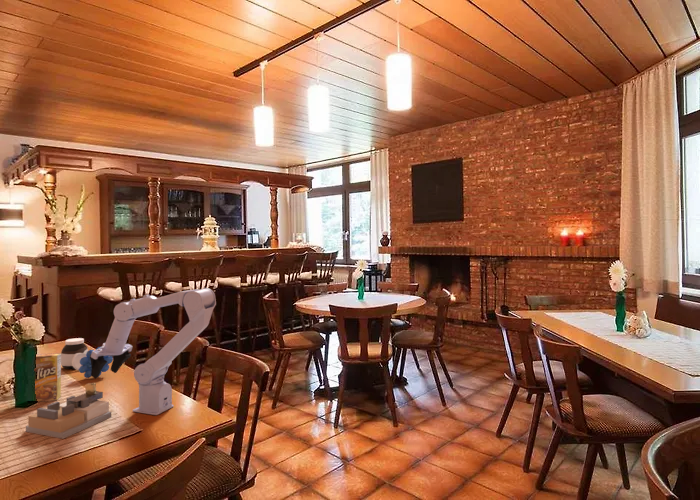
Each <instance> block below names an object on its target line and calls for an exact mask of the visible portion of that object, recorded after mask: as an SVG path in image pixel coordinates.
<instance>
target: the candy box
mask: <svg viewBox="0 0 700 500" xmlns="http://www.w3.org/2000/svg"><path fill="white" fill-rule="evenodd" d="M34 371H35V372H37V379H35V394H36V399H37V401H38V402H51V401H54V402H58V400H59V399H60V398H61V396H62V365H61V352H54V353H52V352H51V353H38V354H36V368H35V369H34Z"/></svg>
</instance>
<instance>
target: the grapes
mask: <svg viewBox="0 0 700 500" xmlns="http://www.w3.org/2000/svg"><path fill="white" fill-rule="evenodd" d="M101 347H102V346H98V347H97V348H95V350H97V349H99V348H101ZM95 350H94V349H88V352H87V353H86V356H87V357H83V358H81V360H80V364H81V365H82V366H81V367H80V368H79V370H78V372H79V373H81V374H83V375H84V378H85V379H89V378H91V377H92V376H91V370H92V365H91V360H90V354H92V351H95ZM103 358H104V360H106V361H107V363H106V364H105V365H104V367H103V368H102V370H101V372H100V374H99V376H98V378H99V377H100V376H101V375H102V373H106V372H108V370H109V369H110V365H109V364H112V362H113V358H114V356H112V355H107V356H104V357H103Z"/></svg>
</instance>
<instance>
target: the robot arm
mask: <svg viewBox="0 0 700 500" xmlns="http://www.w3.org/2000/svg"><path fill="white" fill-rule="evenodd" d="M216 300H217V299H216V294H215V292H214V291H213V289H211V288H208V287H203V288H201V289H199V288H198V289H197V288H196V289H188V290H183V291H178V292H174V293H171V294H167V295H164V296H160V297H156V296H155V295H150V294H144V295H142V297H141V298H137V299H136V298H131V299H129V301H123V302H120V303H118V304H116V305H115V306H114V308H113V315H114V319H113V322H112V323H111V327H110V330H109V332H108V335H107V337H106V341H105V342H103V343H102V345H101V346H100V347H101V348H99V349H97V350H96V349H95V350H94V351H92V354H90V360H91V365H92V370H91V377H92V378H94V379H97V378H99V377H100V376H99V374H100V372H102V371H101V370H102V368H103V367H104V365H105V364H106V363H107V361H106V360H104V358H103V357H104V356H107V355H109V356H113V361H112V362H111V365H110V371H111V372H113V373H114V374H117V372H118V371H119V370H120V369H121V367H122V365H123V364H124V363H125V362H126V361H127V360H128V359H129V358H131V355H132V354H131V353H130V352H132V350H133V345H132V344H129V343H127V340H128V338H129V335H130V334H131V330H132V328H133V325H134V323H135V320H136V319H137V318H141V317H144V316H148V315H152V314H156V313H158V311H159V309H161V308H163V307H168V306H172V305H173V306H174V305H177V304H178V305H179V306H180V307H184V309H185V311H186V314H187V317H188V320H189V321H188V322H187V323H186V324H185V325H184V326H183V327H182V328H181V330H179V332H177V333H176V334H175V335H174V336H173V337H172V338H171V339H170V340H169V341H168V342H167V343H166V344H165V345H164V346H163V347H162V348H160V350H159V351H158V352H157V353H156V354H154V355H152V357H150V358H149V359H148V360H146V361H145V362H144V363H140V364H138V365H137V366H135V368H134V371H133V377H134V380H135V381H136V382H137V384H138V407H135V408H133V409H132V412H134V413H138V414H139V413H140V414H144V415H145V414H147V415H151V416H152V415H153V416H157V415H160V414H162V413H163V412H166V411H167V410H170V409H171V408H174V404H173V397H172V396H173V389H172V385H171V384H170V383H167V382H166V381H165V375H166V373H167V372H168V369H169V367H170V366H171V365H172V364H173V363H172V361H174V360H175V359H176V358H177V357H178V355H180V354H181V352H183V351H184V350H185V349H186V348H187V347H188V346H189V345H190V344H191V343H192V342H193V341H194V340H195V339H197V337H198V336H199V335H200V334H201V333H202V332H203V331H204V330H205V329H206V328H207V327H208V326H209V324H210V320H211V317H212V314H213V311H214V309H215V307H216V306H217V301H216ZM98 376H99V377H98Z"/></svg>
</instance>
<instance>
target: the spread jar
mask: <svg viewBox="0 0 700 500" xmlns="http://www.w3.org/2000/svg"><path fill="white" fill-rule="evenodd" d="M84 342H85V338H82V337H78V338H77V337H76V338H68V339H66V340H65V341H64V344H65V345H63V347H62V349H61V352H60V353H61V368H64V369H66V370H75V371H79V368H80V367H81V366H82V365H81V364H80V360H81V358H83V357H87V356H86V353H87V352H88V351H89V348H88V346H87V344H85V343H84Z"/></svg>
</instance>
